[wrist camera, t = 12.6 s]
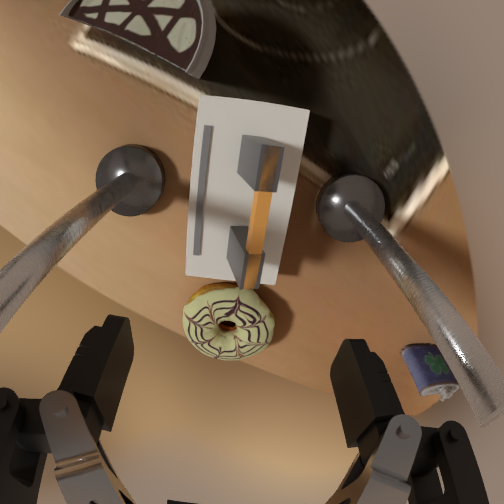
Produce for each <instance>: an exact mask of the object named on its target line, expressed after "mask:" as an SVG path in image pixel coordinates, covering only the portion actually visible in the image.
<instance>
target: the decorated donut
mask: <svg viewBox="0 0 504 504" xmlns="http://www.w3.org/2000/svg"><path fill="white" fill-rule="evenodd" d="M182 320H183V326H184V330H185V334H186V336H187V338H188V339H189V341H190V342H191V343H192V344H193V345H194V347H196V348H197V349H198V350H199V351H200V352H202V353H203V354H205V355H207V356H210V357H213V358H216V359H222V360H241V359H244V358H247V357H250V356H253V355H255V354H258V353H260V352H262V351H263V350H265V349H266V347H267V346H268V345H269V343H270V342H271V340H272V337H273V333H274V331H273V329H274V326H275V322H274V316H273V314H272V313H271V311H270V309H269V307H268V306H267V305H266V303H265V302H264V301H263V300H262V299H261V298H260V297H259V296H258V295H257V293H256V292H255V291H254V290H253V289H245V290H240V289H239V287H238V285H235V284H229V283H215V284H209V285H205V286H203V287H201V288H200V289H199V290H198V291H197V292H196V293H195V294H193V296H192V297H191V298H190V300H189V302H188V304H186V305H185V306H184V310H183V319H182ZM224 320H226V321H232V322H234V323H236V326H226V325H223V324H222V323H221V322H222V321H224Z"/></svg>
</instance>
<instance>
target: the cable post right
mask: <svg viewBox="0 0 504 504" xmlns="http://www.w3.org/2000/svg"><path fill="white" fill-rule="evenodd" d="M384 211H385V201H384V197H383V194H382V191H381V190H380V188H379V187H378V186H377V184H375V183H374V182H373V181H372V180H370V179H369V178H367V177H366V176H364V175H362V174H359V173H355V172H345V173H341V174H338V175H336V176H334V177H332V178H331V179H330V180H328V181H327V182H326V183H325V184H324V186H323V187H322V188H321V190H320V192H319V194H318V197H317V201H316V213H317V217H318V219H319V221H320V223H321V225H322V226H323V228H324V230H325V231H326V232H327V233H328V234H329V235H330V236H331V237H332V238H334V239H336V240H339V241H342V242H356V241H359V240H362V239H364V240H365V242H366V243H367V244H368V246H369V247H370V248H371V249H372V251H373V252H374V253H375V255H376V256H377V258H378V259H379V260H380V262H381V263H382V264H383V266H384V267H385V268H386V270H387V271H388V273H389V274H390V275H391V277H392V278H393V280H394V281H395V282H396V284H397V285H398V287H399V288H400V290H401V291H402V293H403V294H404V295H405V297H406V298H407V300H408V301H409V303H410V304H411V306H412V307H413V309H414V310H415V312H416V313H417V315H418V316H419V318H420V320H421V321H422V323H423V324H424V326H425V327H426V329H427V331H428V332H429V334H430V335H431V337H432V339H433V340H434V342H435V343H436V345H437V347H438V348H439V350H440V352H441V353H442V355H443V357H444V359H445V360H446V362H447V364H448V365H449V367H450V369H451V371H452V373H453V374H454V376H455V378H456V380H457V382H458V383H459V385H460V387H461V389H462V391H463V393H464V395H465V397H466V398H467V400H468V402H469V404H470V406H471V408H472V410H473V412H474V414H475V416H476V418H477V420H478V422H479V425H480V427H483V426H486V425H488V424H490V423H492V422H493V421H494V420H496V419H497V418H499V417H500V416H501V415H502V414H504V377H503V375H502V374H501V372H500V371H499V369H498V367H497V366H496V364H495V363H494V361H493V360H492V358H491V357H490V355H489V354H488V352H487V351H486V349H485V348H484V346H483V345H482V344H481V342H480V341H479V339H478V338H477V336H476V335H475V334H474V332H473V331H472V330H471V328H470V327H469V325H468V324H467V323H466V321H465V320H464V319H463V317H462V316H461V315H460V314H459V312H458V311H457V310H456V308H455V307H454V306H453V305H452V303H451V302H450V301H449V300H448V298H447V297H446V296H445V295H444V293H443V292H442V291H441V290H440V288H439V287H438V286H437V285H436V284H435V282H434V281H433V280H432V279H431V278H430V277H429V275H428V274H427V273H426V272H425V271H424V270H423V268H422V267H421V266H420V265H419V264H418V263H417V262H416V260H415V259H414V258H413V257H412V256H411V255H410V254H409V253H408V252H407V250H406V249H405V248H404V247H403V246H402V245H401V244H400V243H399V242H398V241H397V240H396V239H395V238H394V237H393V235H392V234H391V233H390V232H389V231H388V230H387V229H386V228H385V227H384V226H383V225H382V224H381V221H382V218H383V215H384Z"/></svg>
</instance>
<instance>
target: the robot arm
mask: <svg viewBox="0 0 504 504" xmlns="http://www.w3.org/2000/svg"><path fill="white" fill-rule="evenodd" d="M133 356H134V344H133V338H132V332H131V326H130V320H129V318H126V317H121V316H115V315H108V316H107V318H106V320H105V322H104V324H103V326H102V327H99V326H94V327H93V328H92V329H90V330H89V331H88V332H87V333H86V334H85V335H84V337H83V339H82V341H81V343H80V346H79V347H78V349H77V351H76V353H75V356H74V357H73V359H72V361H71V363H70V365H69V367H68V369H67V371H66V373H65V375H64V377H63V380H62V382H61V384H60V386H59V388H58V389H57V390H55V391H52V392H49V393H48V394H46V395H45V396H44V397H43V398H42V399H26V398H18V396H17V395H16V393H15V392H14V391H13V390H11V389H9V388H0V504H36V503H37V498H38V492H39V488H40V483H41V478H42V474H43V469H44V465H45V461H46V457H47V453H52V454H53V457H54V460H55V463H56V468H55V469H54V470H55V471H54V472H55V476H56V480H57V482H58V485H59V487H60V489H61V492H62V494H63V496H64V498H65V500H66V503H67V504H136V503H135V502H134V500H133V499H132V497H131V496H130V494H129V492H128V491H127V489H126V488H125V487H124V485H123V484H122V482H121V481H120V479H119V477H118V475H117V474H116V471H115V470H114V468H113V466H112V464H111V462H110V460H109V458H108V456H107V454H106V452H105V450H104V448H103V446H102V444H101V442H100V440H99V438H100V434H101V430H106V431H110V432H111V430H112V426H113V423H114V420H115V416H116V413H117V409H118V406H119V402H120V399H121V396H122V392H123V389H124V386H125V383H126V380H127V377H128V373H129V370H130V367H131V364H132V361H133ZM330 377H331V382H332V386H333V390H334V394H335V397H336V402H337V406H338V410H339V414H340V417H341V422H342V426H343V430H344V434H345V439H346V443H347V447H348V448H351V447H358V448H359V453H358V454H357V455H356V457H355V459H354V461H353V463H352V465H351V466H350V468H349V470H348V472H347V474H346V475H345V477H344V479H343V481H342V482H341V484H340V486H339V487H338V489H337V490H336V492H335V493H334V494H333V496H332V497H331V498H330V499H329V500H328V501H327V502H326V503H325V504H406V502H407V499H408V501H409V504H489V501H488V498H487V494H486V490H485V487H484V483H483V480H482V476H481V473H480V470H479V467H478V464H477V461H476V458H475V455H474V452H473V450H472V447H471V445H470V441H469V439H468V436H467V433H466V431H465V429H464V427H463V426H462V425H461V424H459V423H458V422H456V421H447V422H445V423H444V424H443V425H442V426H441V427H439V428H431V427H422V426H420V425H419V423H418V422H417V421H416V420H415V419H414V418H413V417H411V416H409V415H405V413H404V411H403V409H402V406H401V404H400V401H399V399H398V396H397V394H396V391H395V389H394V386H393V384H392V382H391V379H390V377H389V374H387V369H386V367H385V365H384V362H383V361H382V360H381V359H380V357H379V356H378V355H377V354H376V353H375V352H370V350H369V348H368V345H367V343H366V341H365V340H364V339H345V340H344V341H343V342H342V344H341V346H340V349H339V351H338V353H337V355H336V357H335V359H334V361H333V363H332V366H331V370H330ZM437 467H439V469H440V472H441V476H442V480H443V483H444V488H445V491H444V494H443V492H442V488H441V484H440V480H439V476H438V473H437V469H436V468H437ZM167 504H194V503H187V502H179V501H173V500H167ZM195 504H196V503H195Z"/></svg>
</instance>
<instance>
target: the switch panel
mask: <svg viewBox="0 0 504 504" xmlns="http://www.w3.org/2000/svg"><path fill="white" fill-rule="evenodd" d="M309 113H310V110H306V109H301V108H296V107H290V106H285V105H279V104H273V103H266V102H259V101H252V100H245V99H236V98H227V97H217V96H205V95H200V96H199V104H198V112H197V121H196V129H195V139H194V148H193V159H192V170H191V182H190V195H189V210H188V227H187V247H186V274H185V275H188V276H197V277H205V278H214V279H222V280H231V281H236V280H235V277H234V275H233V273H232V270H231V268H230V265H229V263H228V260H227V258H226V257H227V248H228V240H229V231H230V226H248V227H249V223H250V216H251V210H252V203H253V196H254V190H253V189H252V188H251V187H250V186H249V185H248V184H247V183H246V182H245V181H244V179H243V178H242V177H241V176H240V175H239V174H238V173H237V169H238V161H239V154H240V147H241V140H242V135H251V136H260V137H263V138H266V139H268V140H270V141H272V142H275V143H277V144H279V145H281V146H283V147H285V148H284V154H283V160H282V165H281V171H280V177H279V182H278V188H277V193H276V192H273V193H272V199H271V204H270V210H269V216H268V221H267V227H266V233H265V238H264V244H263V251H264V252H265V259H264V265H263V270H262V275H261V281H260V284H269V285H275V283H276V279H277V274H278V270H279V265H280V260H281V256H282V251H283V246H284V242H285V237H286V232H287V227H288V223H289V218H290V213H291V208H292V203H293V198H294V193H295V188H296V183H297V178H298V172H299V167H300V162H301V157H302V151H303V146H304V141H305V135H306V130H307V124H308V118H309Z"/></svg>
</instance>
